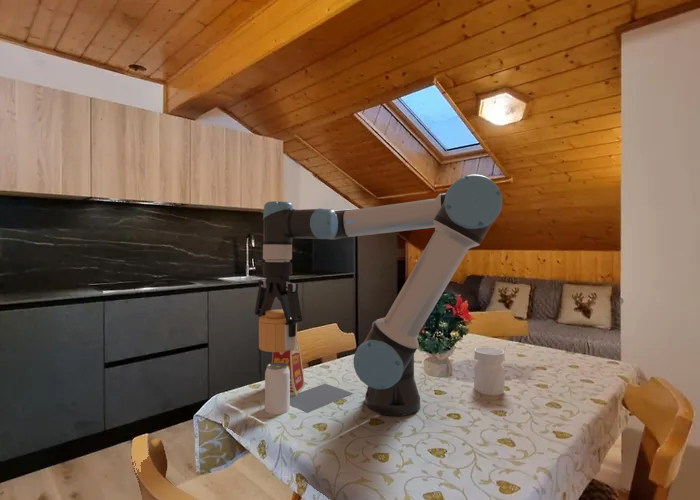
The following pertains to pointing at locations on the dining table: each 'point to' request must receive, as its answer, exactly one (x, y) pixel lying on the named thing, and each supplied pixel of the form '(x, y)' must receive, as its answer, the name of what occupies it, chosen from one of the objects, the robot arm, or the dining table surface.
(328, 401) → the mat
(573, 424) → the dining table surface
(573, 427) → the dining table surface
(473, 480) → the dining table surface
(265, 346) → the wooden octagonal canister
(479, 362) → the pill bottle
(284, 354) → the milk carton
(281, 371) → the can
